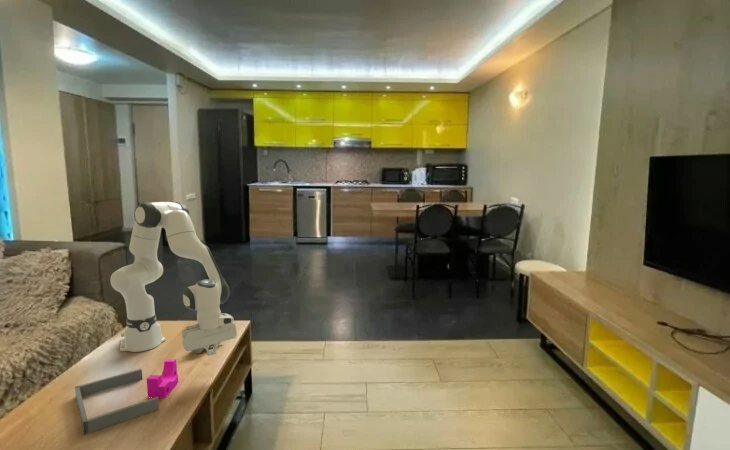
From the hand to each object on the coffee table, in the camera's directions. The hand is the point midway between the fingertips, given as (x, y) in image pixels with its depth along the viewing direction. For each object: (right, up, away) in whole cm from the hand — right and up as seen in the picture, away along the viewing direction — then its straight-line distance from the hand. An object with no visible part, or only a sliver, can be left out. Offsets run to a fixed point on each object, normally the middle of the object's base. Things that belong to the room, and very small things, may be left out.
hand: (211, 354), depth 162 cm
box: (-26, -11, -18) cm, 34 cm away
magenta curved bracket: (-14, -10, -8) cm, 19 cm away
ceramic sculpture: (-13, -5, +24) cm, 28 cm away
